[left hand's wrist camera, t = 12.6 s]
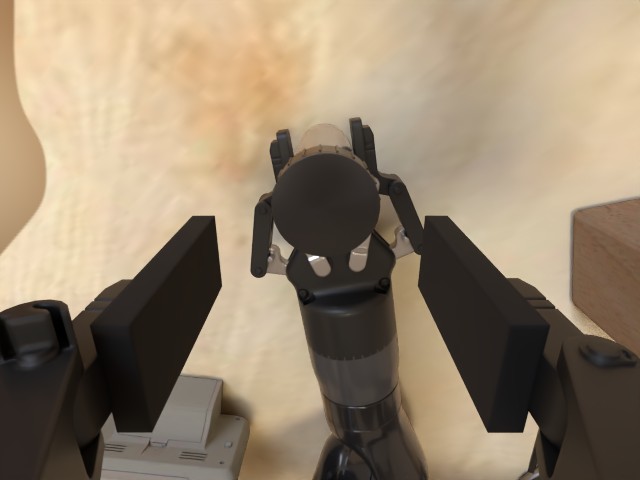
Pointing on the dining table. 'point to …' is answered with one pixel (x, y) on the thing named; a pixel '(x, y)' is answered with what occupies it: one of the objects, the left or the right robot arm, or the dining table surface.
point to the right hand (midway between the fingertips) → (318, 126)
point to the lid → (325, 201)
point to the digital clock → (180, 439)
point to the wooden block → (609, 269)
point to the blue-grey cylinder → (324, 137)
